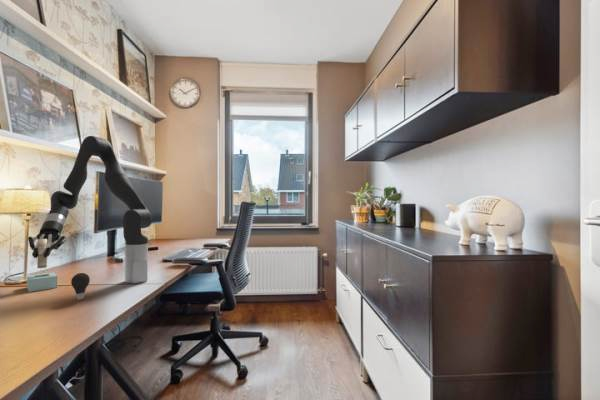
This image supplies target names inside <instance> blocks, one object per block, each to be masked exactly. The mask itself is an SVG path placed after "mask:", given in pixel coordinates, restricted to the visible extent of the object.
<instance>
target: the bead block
mask: <svg viewBox="0 0 600 400" xmlns="http://www.w3.org/2000/svg"><path fill="white" fill-rule="evenodd" d="M26 288H27V291H28V292H29V293H31V292H37V291H45V290H49V289H50V290H51V289H57V288H58V275H57V274H56V272H47V273H46V272H45V273H39V274H30V275H26Z"/></svg>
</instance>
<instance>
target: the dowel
mask: <svg viewBox="0 0 600 400" xmlns="http://www.w3.org/2000/svg"><path fill="white" fill-rule="evenodd" d="M37 241H38V256H37V266H36V267H37V269H45V268H47V267H48V265H47V263H48V262H47V261H48V257H47V258H45V257H44V256H43V255H44V252H45V250H46V248H47V246H48V244H47V239H37Z"/></svg>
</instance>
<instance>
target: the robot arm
mask: <svg viewBox="0 0 600 400" xmlns="http://www.w3.org/2000/svg"><path fill="white" fill-rule="evenodd" d="M79 147H80V148H79V150H78V153H77V156H76V159H75V161H74V164H73V167H72V169H71V171H70V173H69V174H68V177H67V178H66V180H65V181H64V184H63V188H64V189H65V190H66V191H67V192H69V193H67V192H65V191H61V190H57V191H54V192H53V193H52V194H51V197H50V209H51V210H49V212H48V214H47V216H46V218H45V219H44V221H43V223H42V225H41V227H40V230H39V232H38V234H36V236H33V237H32V236H28V237H27V238H28V244H29V247H30V249H31V251H32V253H31V255H32V257H33V259H38V239H47V248H46V250H45V252H44V255H43V256H44V257H45V258H47V259H48V257H49V256H50V255H51V252H52V251H53V250H58V249H59V248H60V247H61V246H62V245H63V244H65V242H66V241H67V239H66V236H65V235H62V236H61V234H62V233H63V230H64V227H65V226H66V220H67V219H68V218H67V217H68V216H69V212H70V211H69V210H73V209H74V208H75V207H76V206H77V205H78V201H79V200H78V199H79V195H80V191H81V190H82V188H83V186H84V185H85V183H86V181H87V179H88V163H89V161H90V159H91V157H98V158H99V159H100V160H101V161H102V163H103V166H104V167H105V171H104V181H105V183H106V185H107V187H108V189H109V190H110V192H111V193H112V194H113V195H114V196H115V197H116V198H118V200H120V201H121V202H123V204H125V205H126V207H128V210H127V211H125V212H124V215H123V218H122V229H123V233H122V235H123V239H124V241H125V251H124V253H125V254H124V255H125V258H124V259H125V260H124V282H125V283H127V284H137V283H143V282H145V283H146V282H147V281H148V277H149V276H148V273H149V271H148V270H149V269H148V268H149V265H148V261H149V259H148V258H149V256H148V255H149V238H148V236H145V235H143V233H142V229H147V228H149V227H150V226H152V225H151V224H152V223H153V217H152V214H151V211H150V210H149V209H148V207H147V206H146V205H145V203H144V202H143V201H142V199H141V198H140V196H139V194H138V193H137V192H136V190H135V188H134V187H133V185H132V182H131V181H130V179H129V177H128V176H127V174H126V172H125V171H124V169H123V167H122V166H121V165H122V164H121V163H120V162H119V159H118V158H117V155H116V153H115V151H114V148H113V146H112V144H111V143H110V141H108V140H107V139H105V138H102V137H98V136H94V135H89V136H88V135H87V136H86V137H85V138H84V139H83V140H82V142H81V145H80V146H79Z"/></svg>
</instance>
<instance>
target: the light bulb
mask: <svg viewBox="0 0 600 400" xmlns="http://www.w3.org/2000/svg"><path fill="white" fill-rule="evenodd" d="M70 284H71V286H72V288H73V289H74V292H75V294H76V295H75V297H76V300H78V301H82V300H83V299H84V298H85V295H86V294H85V293H86V290H87V287H88V285H90V276H89V275H88V274H87V273H85V272H84V273H83V272H79V273H76V274H75V275H74V276H73V277H72V278H71V281H70Z"/></svg>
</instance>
